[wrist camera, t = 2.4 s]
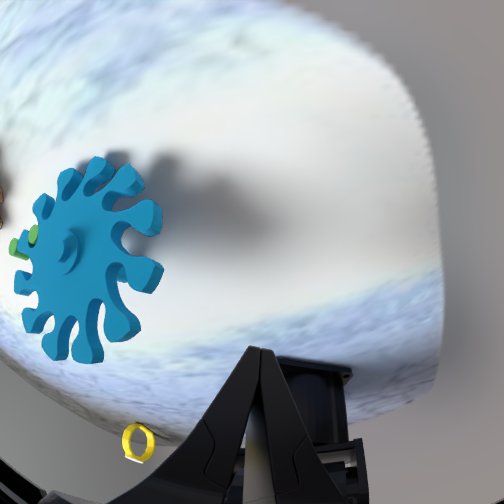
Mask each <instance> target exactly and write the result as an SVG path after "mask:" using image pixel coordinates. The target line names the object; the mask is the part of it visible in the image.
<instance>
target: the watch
mask: <svg viewBox="0 0 504 504" xmlns="http://www.w3.org/2000/svg"><path fill="white" fill-rule="evenodd" d="M138 427H139V428H140V429H141V430H143V431H144V432H146V436H147V439H148V440H147V448H146V451H145V453H144V454H143V455H142V456H141V457H138V456H136V455H134V454H133V452H132V450H131V446H130V439H131V435H132V433H133V431H134V430H135V429H136V428H138ZM122 443H123V449H124V451H125V452H126V454H125V457H126V458H128V459H131V460H133V461H136V462H139V463H144V461H145V460H148V459H149V458H150V457H151V456H152V454H153V452H154V449H155V438H154V434H153V432H152V431H150V430H149V429H147V428H146V427H144V426H143V425H142V424H138V423H134V424H130V425H129V426H128V427H127V428H126V429H125V431H124V434H123V437H122Z"/></svg>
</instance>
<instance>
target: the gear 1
mask: <svg viewBox="0 0 504 504" xmlns="http://www.w3.org/2000/svg"><path fill="white" fill-rule="evenodd" d="M1 202H3V194H2V188H0V203H1ZM2 224H3V222H2V221H1V219H0V229H1V227H2Z"/></svg>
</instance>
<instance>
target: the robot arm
mask: <svg viewBox="0 0 504 504" xmlns="http://www.w3.org/2000/svg"><path fill="white" fill-rule="evenodd" d="M352 376H353V373H352V369H350V368H341V367H332V366H324V365H317V364H309V363H302V362H296V361H290V360H284V359H277V358H276V356H275V354H274V352H273V350H270V349H265V348H261V349H260V348H259V347H255V346H248V348H247V349H246V351H245V352H244V354H243V356H242V357H241V359H240V360H239V362H238V363H237V365H236V366H235V368H234V370H233V371H232V373H231V374H230V376H229V377H228V379H227V380H226V382H225V383H224V385H223V386H222V388H221V389H220V391H219V393H218V394H217V396H216V397H215V399H214V400H213V401H212V403H211V404H210V406H209V407H208V409H207V410H206V412H205V413H204V415H203V416H202V418H201V419H200V420H199V422H198V423H197V425H196V426H195V428H194V429H193V430H192V431H191V433H190V434H189V435H188V437H187V438H186V439H185V440H184V441H183V443H182V444H181V445H180V446H179V447H178V448H177V449H176V450H175V451H174V452H173V453H172V454H171V455H170V456H169V457H168V458H167V459H166V460H165V461H164V462H163V463H162V464H161V465H160V466H159V467H158V468H157V469H155V470H154V471H153V472H152V473H151V474H150V475H149V476H148V477H147V478H145V479H144V480H143V481H142V482H140V483H139V484H137V485H136V486H134V487H133V488H131V489H130V490H128V491H126V492H125V493H123V494H121V495H120V496H118V497H116V498H115V499H113V500H111V501H110V502H108V503H106V504H369V488H368V480H367V471H366V463H365V456H364V449H363V442H362V438H358V439H354V440H353V441H349V437H348V424H347V414H346V404H345V395H344V385H345V384H346V383H347V382H348V381H349V380H350V378H351V377H352ZM245 430H246V432H245ZM244 433H245V434H246V445H245V448H240V447H241V444H242V440H243V437H244ZM348 463H351V467H346V468H345V464H348ZM0 504H101V503H96V502H92V501H88V500H85V499H81V498H77V497H74V496H71V495H67V494H65V493H61V492H59V491H55V490H52V491H51V492H50V493H48V494H47V493H46V491H45V490H43V489H42V488H40V487H39V486H37V485H36V484H34V483H33V482H32V481H30V480H29V479H27V478H26V477H25V476H23V475H22V474H21V473H19V472H18V471H17V470H16V469H14V468H13V467H12V466H11V465H9V464H8V463H7V462H6V461H5V460H3V459H2V458H1V457H0ZM492 504H504V498H503V499H501V500H499V501H497V502H495V503H492Z"/></svg>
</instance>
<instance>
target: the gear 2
mask: <svg viewBox="0 0 504 504" xmlns="http://www.w3.org/2000/svg"><path fill="white" fill-rule="evenodd" d="M114 171H115V169H114V168H113V167H112V166H111V165H110V164H109V163H108V162H107V161H106V160H105V159H103V158H101V157H96V156H95V157H94V158H92V160H91V161H90V162H89V164H88V166H87V170H86V173H85V176H84V178H83V180H82V174H80V173H79V172H78V171H77V170H75V169H74V168H69V169H66V170H64V171H62V172H61V173H60V175H59V177H58V180H57V185H58V192H57V198H56V202H55V200H54V199H53V198H52V197H50V196H49V195H47V194H45V193H43V194H42V195H41V196H40V197H39V198H38V199H37V200H36V202H35V203H34V204H33V213H34V214H35V216H36V217H37V220H38V225H33V226H32V227H31V229H30V231H28V230H23V232H22V234H21V236H20V239H19V240H18V239H16V238H13V239H12V241H11V242H10V245H9V254H10V255H12V256H14V257H17V258H20V259H23V260H28V259H29V258H30V260H31V262H32V265H33V272H32V274H31V273H28V272H24V271H21V270H18V271H16V274H15V280H14V292H15V293H16V294H20V295H25V296H29V295H30V294H31V293H32V292H34V291H36V292H37V294H38V298H39V303H38V307H37V309H33V308H24V310H23V311H22V320H23V324H24V327H25V330H26V333H36V334H39V333H41V332H42V331H43V328H44V325H45V323H46V321H47V320H48V318H49V317H51V316H52V315H54V318H55V327H54V330H53V331H52V332H51V333H48V334H45V335H44V336H43V339H42V348H43V350H44V351H45V353H46V354H47V355H48V356H49V357H50V358H51V359H52V360H53V361H59V360H65V359H67V357H68V354H69V337H70V333H71V330H72V328H73V326H74V324H75V323H76V321H77V320H78V323H79V333H78V335H77V337H76V339H75V340H74V342H73V344H72V348H71V352H72V357H73V360H75V361H76V362H79V363H83V364H94V363H101V362H103V360H104V351H103V347H102V345H101V343H100V340H99V336H98V330H97V321H98V314H99V309H100V306H101V304H102V302H103V303H104V305H105V309H106V313H105V319H104V333H105V336H106V338H107V339H108V340H109V341H110V342H123V341H127V340H129V339H131V338H132V337H134V336H135V335H136V334H137V333H139V332H140V331H141V325H140V322H139V320H138V318H137V317H136V316H135V315H134V314H133V313H131V312H130V311H129V310H128V309H127V308H126V306H125V305H124V303H123V302H122V299H121V297H120V294H119V290H118V286H117V281H119V282H123V283H126V282H128V284H129V285H130V287H131V288H132V289H134V290H136V291H139V292H143V293H148V294H152V292H153V291H154V290H155V289H156V287H157V286H158V284H159V282H160V280H161V277H162V275H163V272H164V268H163V266H162V265H161V264H160V263H158V262H156V261H154V260H152V259H150V258H148V257H144V256H140V257H135V256H131V255H130V254H129V253H128V252H127V251H126V249H125V248H124V247H123V246H122V243H121V236H122V234H123V232H124V231H125V229H127V228H128V227H130V226H132V227H133V228H135V229H136V230H138V231H139V232H141V233H142V234H144V235H146V236H149V237H152V236H156V235H158V234H159V233H160V230H161V226H162V208H161V207H159V206H158V205H157V204H156V203H155V202H154V201H152V200H150V199H146V200H142V201H140V202H139V203H137V204H136V205H134V206H133V207H131V208H129V209H127V210H124V211H119V212H112V206H113V204H114V202H115V201H116V200H117V199H118V198H120V197H135V196H137V195H138V194H140V193H141V192H142V191H143V189H144V183H143V180H142V178H141V176H140V175H139V174H138V172H137V171H136V170H135V169H134V168H133V167H132V166H131V165H130V164H126V165H124V166H122V167H121V168H120V169H119V170H118V171H117V173H116V174H115V176H114V177H113V179H112V180H111V181H110V182H109V183H108V184H107V185H106V186H105V187H104V188H103V189H102V190H100V191H98V192H97V193H95V194H94V192H95V190H96V189H97V188H98V187H99V186H100V185H102V184H104V183H106V182H107V181H108V180H109V179H110V178H111V177H112V176H113V174H114Z"/></svg>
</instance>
